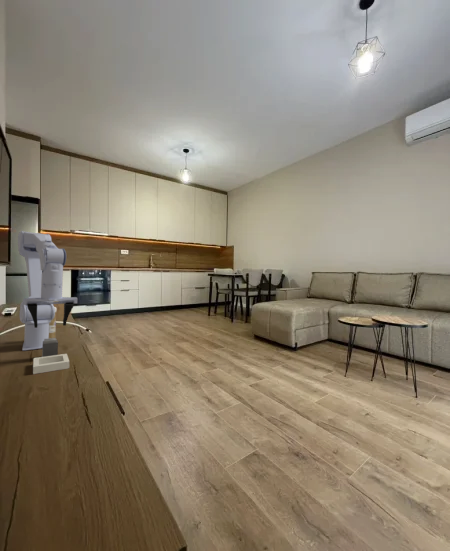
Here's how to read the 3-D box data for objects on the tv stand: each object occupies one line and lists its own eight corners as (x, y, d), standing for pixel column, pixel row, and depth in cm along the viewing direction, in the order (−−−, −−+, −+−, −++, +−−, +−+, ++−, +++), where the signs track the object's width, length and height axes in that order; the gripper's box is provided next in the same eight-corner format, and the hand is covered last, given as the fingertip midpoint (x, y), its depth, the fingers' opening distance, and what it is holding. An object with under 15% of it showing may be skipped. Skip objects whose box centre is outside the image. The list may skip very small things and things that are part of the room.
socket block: (33, 364, 76) (33, 358, 76) (66, 359, 81) (66, 353, 81) (33, 374, 69) (33, 366, 69) (69, 368, 74) (69, 361, 74)
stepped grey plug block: (42, 356, 83) (42, 338, 83) (56, 354, 86) (57, 337, 85) (42, 360, 80) (43, 341, 80) (57, 358, 82) (58, 340, 82)
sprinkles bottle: (55, 341, 102) (56, 307, 102) (41, 342, 99) (42, 308, 99) (55, 338, 105) (56, 306, 105) (42, 339, 103) (43, 306, 103)
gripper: (23, 285, 75) (21, 330, 75) (79, 285, 84) (77, 326, 84) (24, 284, 81) (22, 326, 81) (76, 284, 89) (75, 322, 89)
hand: (50, 326), depth 83 cm, fingers open, 7 cm apart
